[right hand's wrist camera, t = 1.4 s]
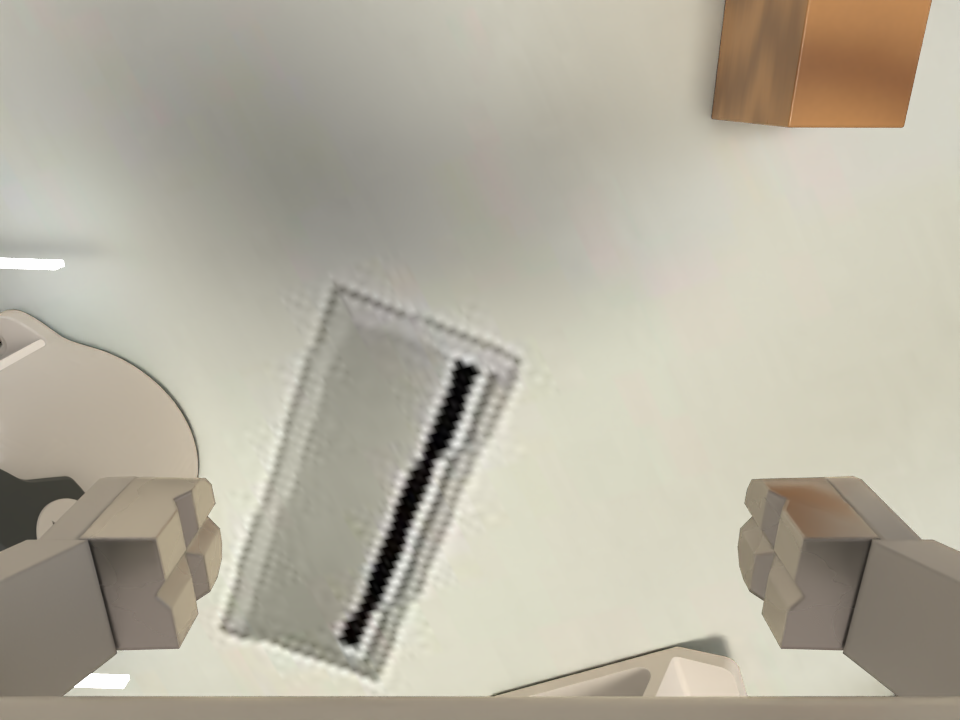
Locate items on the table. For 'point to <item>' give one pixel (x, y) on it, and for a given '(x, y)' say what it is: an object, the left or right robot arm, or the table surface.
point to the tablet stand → (649, 678)
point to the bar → (819, 62)
